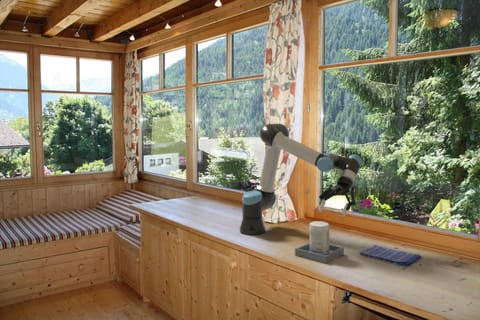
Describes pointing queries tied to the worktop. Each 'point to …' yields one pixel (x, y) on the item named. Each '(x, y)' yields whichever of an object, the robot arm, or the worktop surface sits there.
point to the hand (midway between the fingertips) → (331, 213)
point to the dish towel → (390, 255)
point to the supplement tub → (319, 237)
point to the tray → (333, 253)
